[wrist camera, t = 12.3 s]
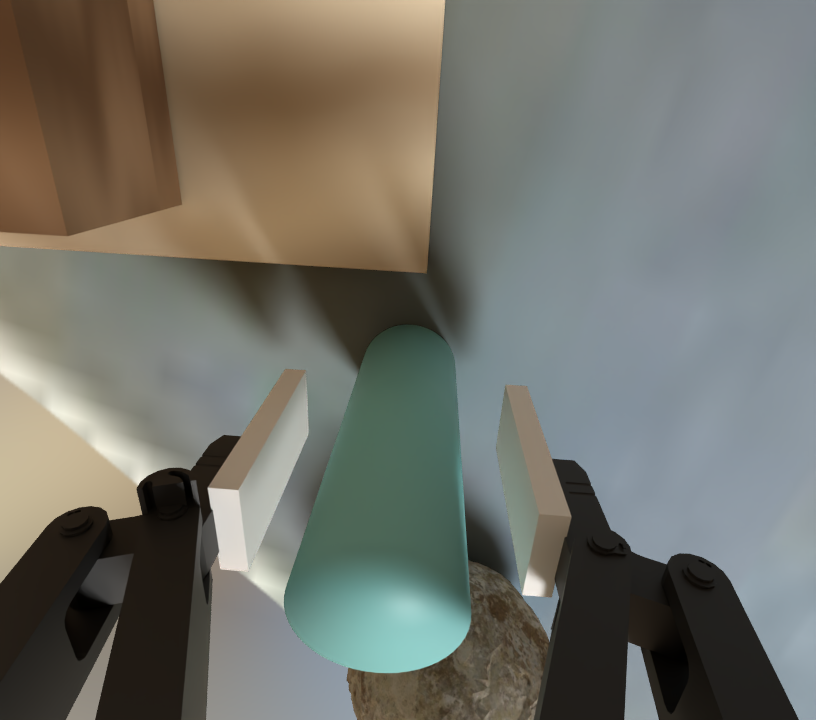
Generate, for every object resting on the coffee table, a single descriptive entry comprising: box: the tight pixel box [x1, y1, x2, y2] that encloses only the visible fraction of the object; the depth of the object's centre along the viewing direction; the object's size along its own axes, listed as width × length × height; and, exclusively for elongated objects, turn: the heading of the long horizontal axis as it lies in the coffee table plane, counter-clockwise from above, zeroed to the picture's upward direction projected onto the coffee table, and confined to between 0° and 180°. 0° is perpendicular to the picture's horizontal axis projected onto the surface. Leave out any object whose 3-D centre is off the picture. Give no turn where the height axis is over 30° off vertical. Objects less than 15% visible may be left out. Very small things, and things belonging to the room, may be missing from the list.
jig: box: [0, 0, 445, 273], centre depth 11 cm, size 13×20×12 cm, turn 87°
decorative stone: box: [347, 560, 549, 720], centre depth 22 cm, size 10×8×10 cm
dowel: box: [284, 325, 471, 673], centre depth 16 cm, size 4×4×12 cm
